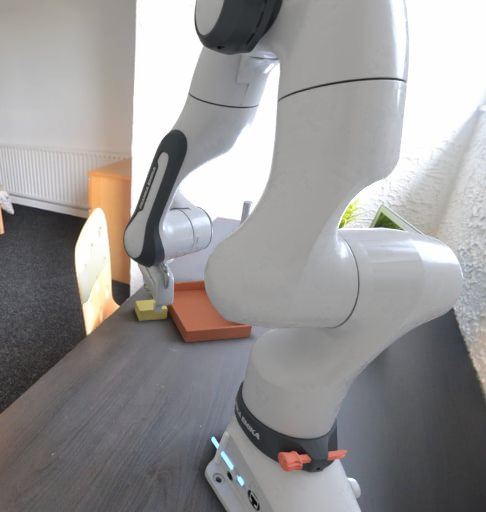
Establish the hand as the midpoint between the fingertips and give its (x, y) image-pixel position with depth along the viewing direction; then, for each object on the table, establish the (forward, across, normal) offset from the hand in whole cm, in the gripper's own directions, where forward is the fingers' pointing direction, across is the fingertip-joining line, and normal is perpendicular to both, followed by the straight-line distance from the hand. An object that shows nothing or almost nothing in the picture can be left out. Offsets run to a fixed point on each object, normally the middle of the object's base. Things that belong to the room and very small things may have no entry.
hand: (152, 299), depth 91 cm
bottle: (+4, +10, -26) cm, 28 cm away
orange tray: (+4, -2, -12) cm, 13 cm away
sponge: (+4, -1, 0) cm, 4 cm away
